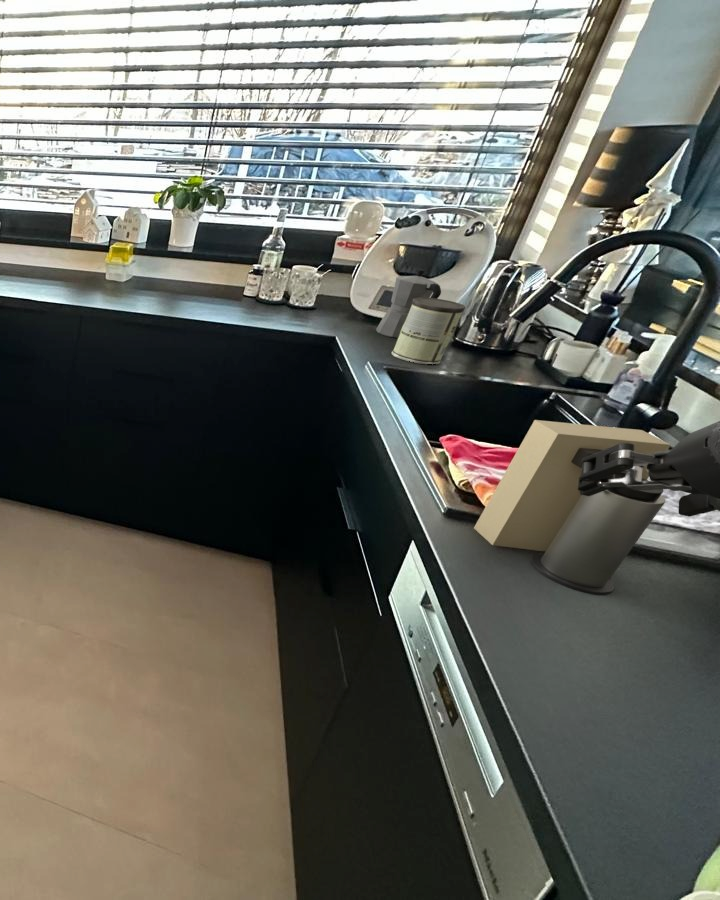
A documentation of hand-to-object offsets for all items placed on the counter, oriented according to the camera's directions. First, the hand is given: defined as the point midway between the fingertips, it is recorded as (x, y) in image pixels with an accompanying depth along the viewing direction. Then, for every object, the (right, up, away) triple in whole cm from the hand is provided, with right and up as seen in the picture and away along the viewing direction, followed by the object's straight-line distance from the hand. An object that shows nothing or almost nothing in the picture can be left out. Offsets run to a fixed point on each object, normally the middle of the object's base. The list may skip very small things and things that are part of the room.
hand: (631, 497), depth 70 cm
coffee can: (+44, +28, +86) cm, 101 cm away
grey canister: (0, -10, +6) cm, 12 cm away
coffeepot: (+53, +37, +104) cm, 123 cm away
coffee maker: (0, -10, +9) cm, 14 cm away
